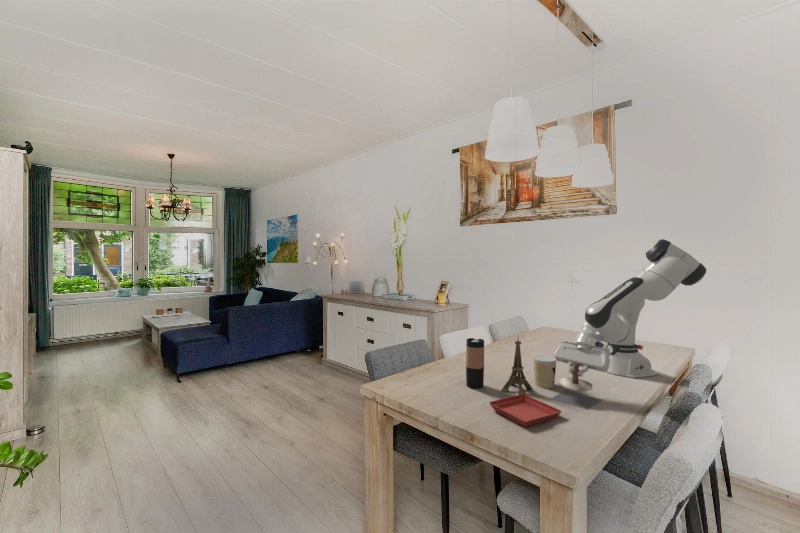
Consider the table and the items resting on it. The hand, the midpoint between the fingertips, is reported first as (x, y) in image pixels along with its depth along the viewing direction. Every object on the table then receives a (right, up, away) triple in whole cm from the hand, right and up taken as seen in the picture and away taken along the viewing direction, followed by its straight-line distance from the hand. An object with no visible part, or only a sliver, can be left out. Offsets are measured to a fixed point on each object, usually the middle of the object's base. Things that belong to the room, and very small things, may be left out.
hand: (574, 374), depth 148 cm
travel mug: (-36, -10, +15) cm, 40 cm away
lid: (0, -5, +1) cm, 5 cm away
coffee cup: (-6, -10, +16) cm, 19 cm away
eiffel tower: (-19, -10, +10) cm, 24 cm away
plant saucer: (-24, -11, -13) cm, 29 cm away
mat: (+1, -10, 0) cm, 10 cm away
